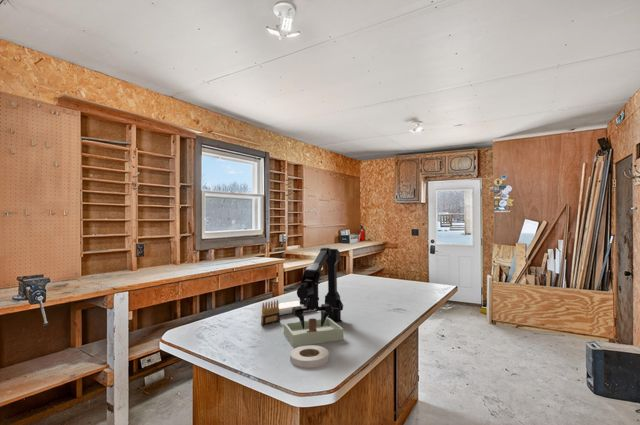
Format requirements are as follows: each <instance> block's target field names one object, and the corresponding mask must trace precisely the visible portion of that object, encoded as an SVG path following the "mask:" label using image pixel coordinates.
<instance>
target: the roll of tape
mask: <svg viewBox="0 0 640 425" xmlns="http://www.w3.org/2000/svg"><path fill="white" fill-rule="evenodd" d="M329 354H330V353H329V350H328V349H327V348H326V347H323V346H321V345H316V344H310V345H303V346H296V347H294V349H292V350H291V351H290V353H289V361H290V363H292V364H293V365H294V366H296V367H300V368H308V369H309V368H317V367H321V366H323V365H326V364H327V363H328V362H329Z"/></svg>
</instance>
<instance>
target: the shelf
mask: <svg viewBox="0 0 640 425" xmlns="http://www.w3.org/2000/svg"><path fill="white" fill-rule="evenodd" d="M278 305H279V315H280V316H282V315H288V314H293V313H292V309H293V307H301V308H307V307H304V306H303V305H300V299H299V300H294V301H286V302H280V303H278ZM273 306H274V303H273ZM267 308H268V304H267ZM270 308H271V304H270Z"/></svg>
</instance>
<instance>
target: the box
mask: <svg viewBox="0 0 640 425" xmlns="http://www.w3.org/2000/svg"><path fill="white" fill-rule="evenodd" d="M315 319H316V332H309V319H307V320H304V329H303V328H302V325H301V322H300V320H299V321H292V322H284V323H283V335H284V336H285V338H286V339H287V340H288V342H289V343H290V344H291V346H292V347H293V348H297V347H301V346H307V345H316V344H323V343H330V342H336V341H337V342H338V341H343V340H344V328H343V327H342V326H341V325H339V324H338V322H334V321H333V320H331V319H330V318H326V320H325V322H324V324H323V327H321V318H315Z"/></svg>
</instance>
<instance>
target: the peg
mask: <svg viewBox="0 0 640 425" xmlns="http://www.w3.org/2000/svg"><path fill="white" fill-rule="evenodd" d="M316 319H317V318H314V317H313V318H309V319H308V320H309V332H316Z"/></svg>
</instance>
